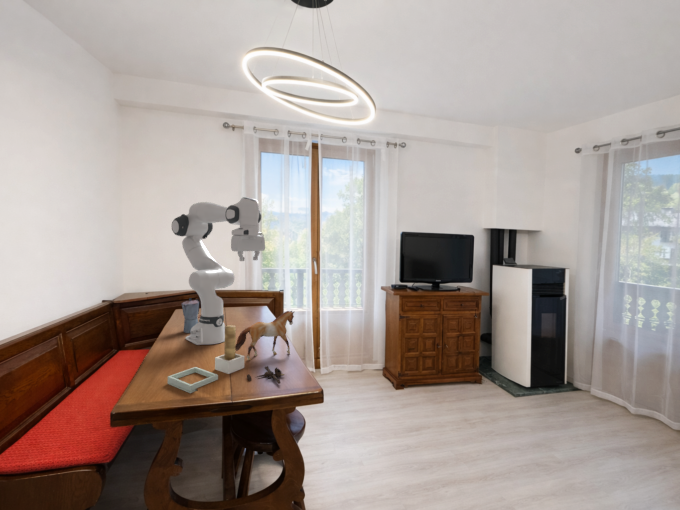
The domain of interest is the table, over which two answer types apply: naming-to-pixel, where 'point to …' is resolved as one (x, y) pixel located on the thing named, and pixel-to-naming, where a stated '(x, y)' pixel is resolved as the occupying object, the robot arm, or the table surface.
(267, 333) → the horse figurine
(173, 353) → the table surface
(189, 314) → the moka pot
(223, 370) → the white square box
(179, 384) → the tray
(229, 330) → the dowel
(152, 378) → the table surface
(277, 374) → the bear figurine
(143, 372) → the table surface
